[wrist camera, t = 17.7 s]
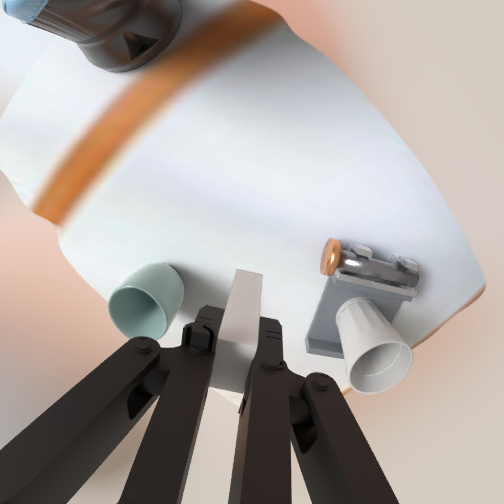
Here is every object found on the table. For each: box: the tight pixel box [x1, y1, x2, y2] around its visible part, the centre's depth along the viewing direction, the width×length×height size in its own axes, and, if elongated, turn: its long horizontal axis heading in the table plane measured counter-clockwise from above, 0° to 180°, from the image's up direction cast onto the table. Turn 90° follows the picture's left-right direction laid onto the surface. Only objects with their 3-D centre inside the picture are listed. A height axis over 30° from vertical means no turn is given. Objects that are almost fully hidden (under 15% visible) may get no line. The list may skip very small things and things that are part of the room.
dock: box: [305, 272, 413, 359], centre depth 38 cm, size 12×12×3 cm
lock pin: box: [320, 238, 419, 288], centre depth 34 cm, size 13×4×4 cm, turn 77°
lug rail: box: [335, 242, 419, 298], centre depth 35 cm, size 4×12×4 cm, turn 77°
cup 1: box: [108, 263, 184, 341], centre depth 35 cm, size 8×8×10 cm
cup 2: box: [336, 297, 413, 394], centre depth 33 cm, size 8×8×12 cm
